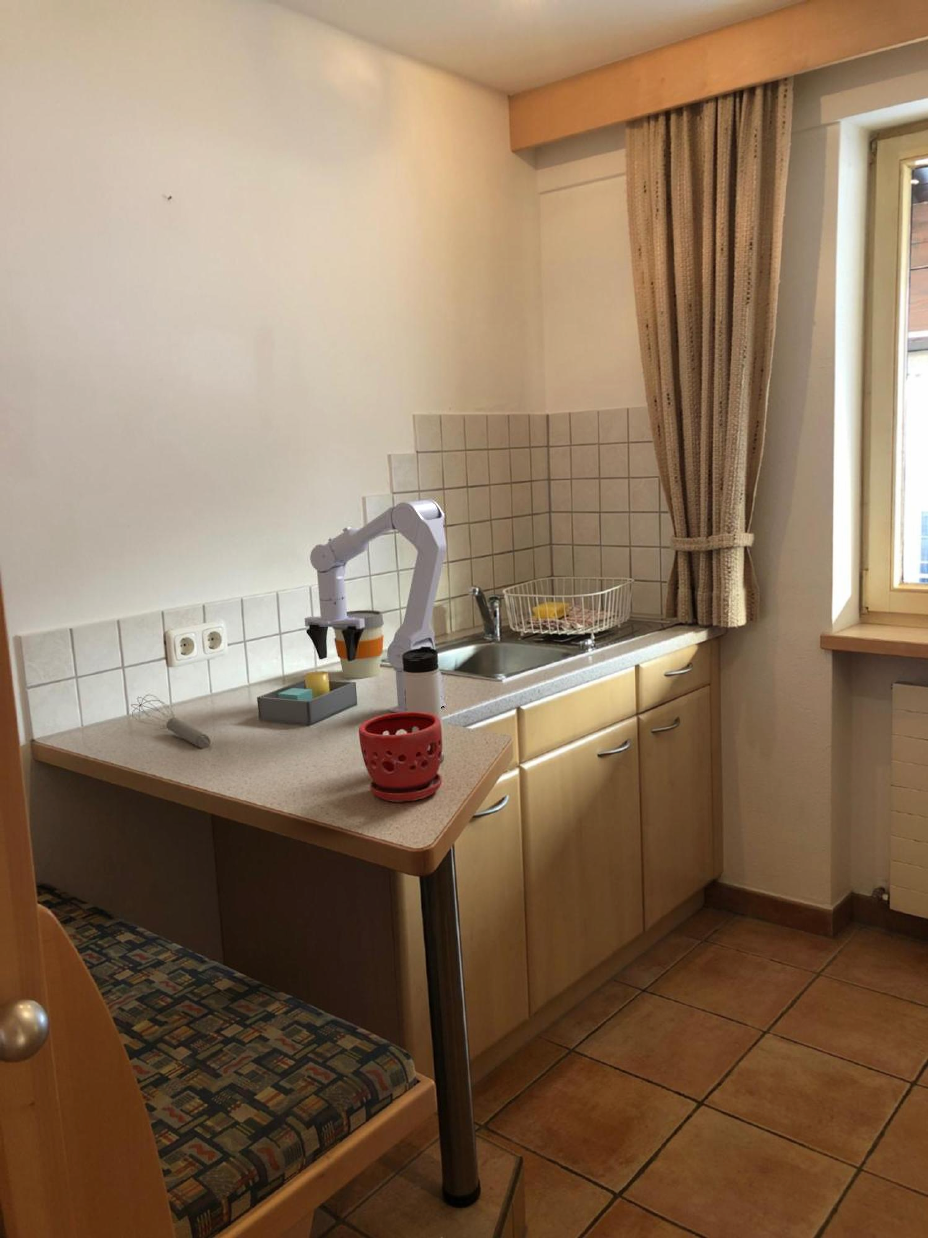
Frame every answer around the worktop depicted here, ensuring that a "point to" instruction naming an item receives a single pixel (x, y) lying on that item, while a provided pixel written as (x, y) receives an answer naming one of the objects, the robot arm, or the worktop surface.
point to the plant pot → (402, 755)
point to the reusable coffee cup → (362, 646)
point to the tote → (307, 704)
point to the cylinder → (317, 683)
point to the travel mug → (422, 683)
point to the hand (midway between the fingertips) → (337, 659)
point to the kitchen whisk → (180, 728)
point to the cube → (296, 694)
